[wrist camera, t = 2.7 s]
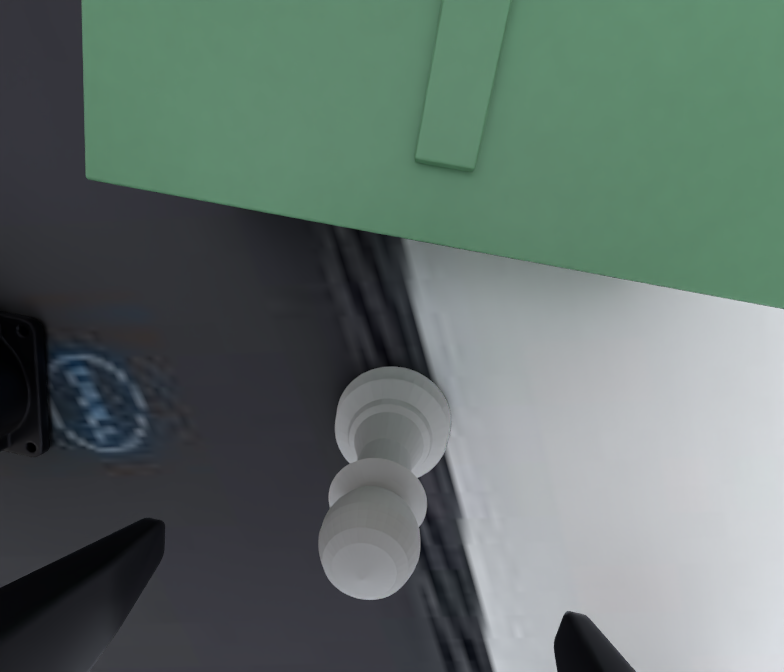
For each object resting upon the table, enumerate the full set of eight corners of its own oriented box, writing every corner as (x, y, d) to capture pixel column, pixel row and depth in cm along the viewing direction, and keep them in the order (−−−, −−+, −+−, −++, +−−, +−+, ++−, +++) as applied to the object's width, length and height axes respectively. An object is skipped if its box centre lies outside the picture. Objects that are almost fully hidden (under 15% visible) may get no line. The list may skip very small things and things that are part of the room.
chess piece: (466, 450, 16) (499, 640, 9) (362, 480, 17) (309, 678, 9) (427, 348, 15) (426, 459, 8) (320, 384, 16) (222, 518, 9)
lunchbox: (653, 282, 14) (848, 320, 8) (215, 200, 15) (45, 171, 8) (762, -29, 12) (1188, -368, 5) (233, -109, 12) (14, -495, 6)
